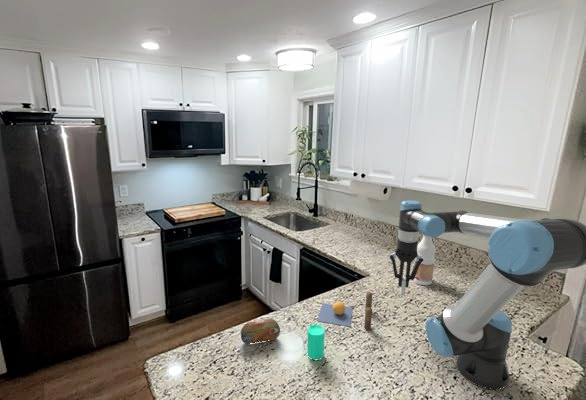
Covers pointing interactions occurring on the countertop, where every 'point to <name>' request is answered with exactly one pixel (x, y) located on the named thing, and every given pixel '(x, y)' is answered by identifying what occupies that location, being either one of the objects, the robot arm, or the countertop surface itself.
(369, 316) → the post near
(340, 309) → the ball
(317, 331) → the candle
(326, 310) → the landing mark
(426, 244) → the fruit juice
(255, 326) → the tin
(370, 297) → the post far
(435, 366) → the countertop surface
